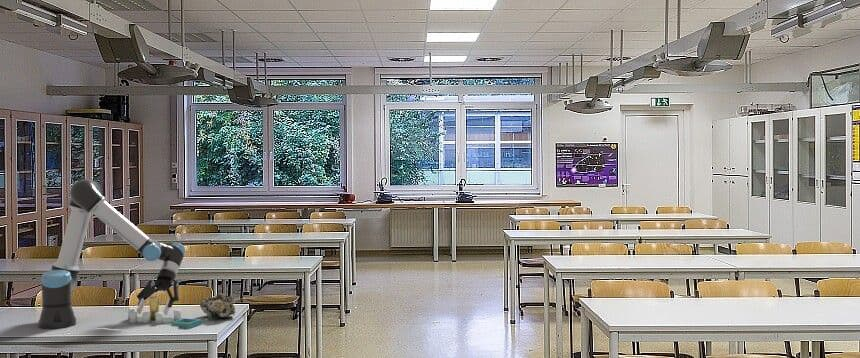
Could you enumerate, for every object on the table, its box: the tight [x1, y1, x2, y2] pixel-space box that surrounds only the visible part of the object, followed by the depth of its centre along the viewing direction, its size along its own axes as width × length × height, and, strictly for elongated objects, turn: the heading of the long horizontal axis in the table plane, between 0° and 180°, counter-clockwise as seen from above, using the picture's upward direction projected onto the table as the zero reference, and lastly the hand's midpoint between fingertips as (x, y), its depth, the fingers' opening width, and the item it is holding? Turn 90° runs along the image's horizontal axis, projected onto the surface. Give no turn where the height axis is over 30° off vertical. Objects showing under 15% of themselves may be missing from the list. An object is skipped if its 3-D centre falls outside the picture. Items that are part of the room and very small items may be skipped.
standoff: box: [148, 296, 160, 321], centre depth 371 cm, size 4×4×10 cm
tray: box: [171, 317, 203, 329], centre depth 362 cm, size 9×9×2 cm
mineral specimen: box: [198, 293, 236, 320], centre depth 379 cm, size 16×18×10 cm
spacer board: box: [118, 308, 184, 326], centre depth 369 cm, size 25×14×5 cm, turn 79°
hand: (151, 312), depth 369 cm, fingers open, 12 cm apart
